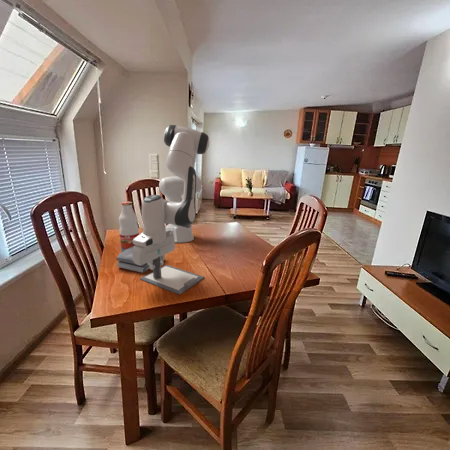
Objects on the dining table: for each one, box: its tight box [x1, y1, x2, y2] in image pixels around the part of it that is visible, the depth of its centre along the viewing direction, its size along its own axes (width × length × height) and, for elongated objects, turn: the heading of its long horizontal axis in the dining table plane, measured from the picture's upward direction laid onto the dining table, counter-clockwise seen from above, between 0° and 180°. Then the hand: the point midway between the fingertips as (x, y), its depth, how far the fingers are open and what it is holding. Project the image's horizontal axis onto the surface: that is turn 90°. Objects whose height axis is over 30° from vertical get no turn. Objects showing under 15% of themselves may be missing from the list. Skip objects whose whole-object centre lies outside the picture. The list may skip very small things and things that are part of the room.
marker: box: [152, 249, 162, 279], centre depth 104 cm, size 4×4×13 cm
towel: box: [115, 246, 151, 274], centre depth 120 cm, size 15×18×8 cm
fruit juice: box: [118, 201, 140, 253], centre depth 127 cm, size 9×9×28 cm
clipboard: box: [139, 264, 205, 295], centre depth 107 cm, size 22×16×2 cm
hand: (156, 266), depth 104 cm, fingers closed on marker, 3 cm apart
